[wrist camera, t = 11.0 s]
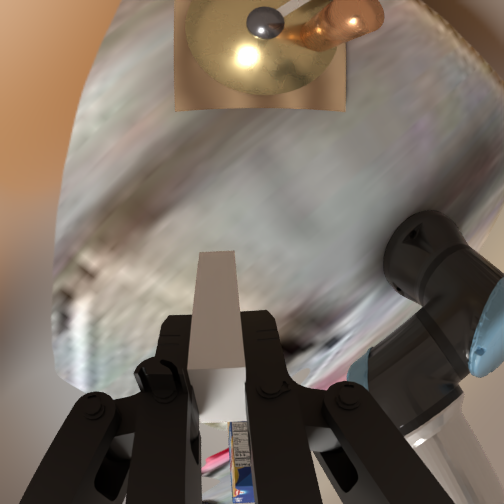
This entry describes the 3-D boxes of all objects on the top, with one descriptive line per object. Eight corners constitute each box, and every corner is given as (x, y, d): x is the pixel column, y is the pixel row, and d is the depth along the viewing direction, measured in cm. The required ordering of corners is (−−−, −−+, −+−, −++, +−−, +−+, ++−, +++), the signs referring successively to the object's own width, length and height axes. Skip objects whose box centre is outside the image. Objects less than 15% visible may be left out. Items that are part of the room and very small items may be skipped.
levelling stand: (336, -25, 26) (350, -37, 22) (339, 111, 35) (355, 113, 31) (178, -31, 24) (173, -46, 20) (177, 111, 34) (171, 112, 29)
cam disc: (217, -46, 22) (217, -105, 10) (351, 1, 26) (408, -33, 14) (166, 72, 29) (133, 55, 17) (307, 116, 33) (353, 125, 21)
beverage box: (264, 382, 56) (280, 483, 37) (258, 412, 61) (270, 501, 42) (228, 382, 55) (235, 486, 36) (226, 412, 60) (232, 503, 41)
